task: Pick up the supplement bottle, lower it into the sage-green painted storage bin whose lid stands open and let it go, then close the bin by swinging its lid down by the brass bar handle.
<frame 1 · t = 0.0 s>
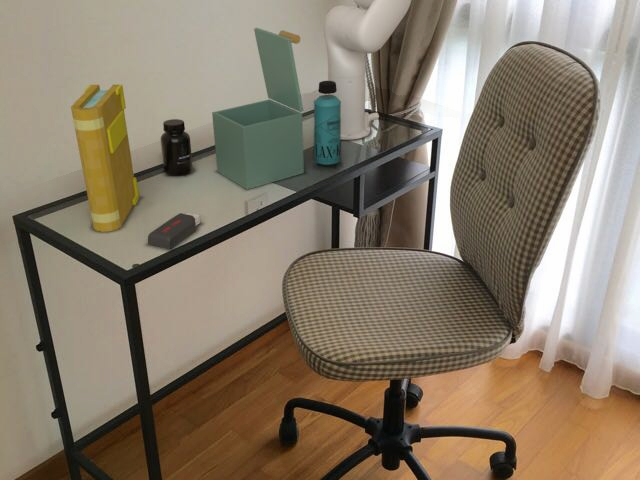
bin: (260, 172, 185), on the table
bin lid: (287, 66, 177), point 23 cm above the table, hinge at 80.0°
usb drive: (177, 235, 158), on the table
beverage bottle: (327, 166, 188), on the table
supplement bottle: (179, 172, 186), on the table
book: (114, 214, 167), on the table
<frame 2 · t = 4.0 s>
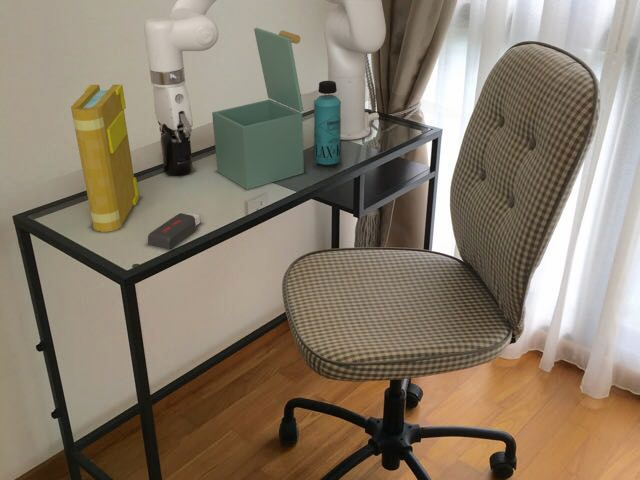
hand: (176, 152, 184), 5 cm above the table, tool pointing down, fingers closed on supplement bottle, 6 cm apart
supplement bottle: (179, 172, 186), on the table, touching gripper
everything else where it was.
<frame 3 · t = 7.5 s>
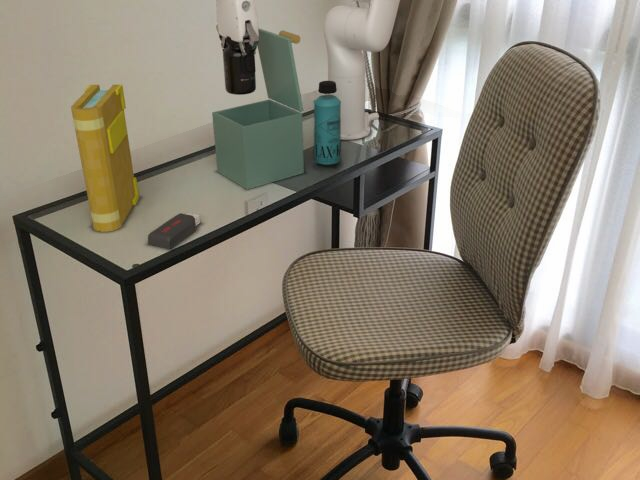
hand: (239, 69, 171), 24 cm above the table, tool pointing down, fingers closed on supplement bottle, 6 cm apart
supplement bottle: (241, 91, 174), point 19 cm above the table, touching gripper
everything else where it was.
when the fingers open (13 cm above the table, at t = 11.0 s): supplement bottle drops 7 cm, resting on bin.
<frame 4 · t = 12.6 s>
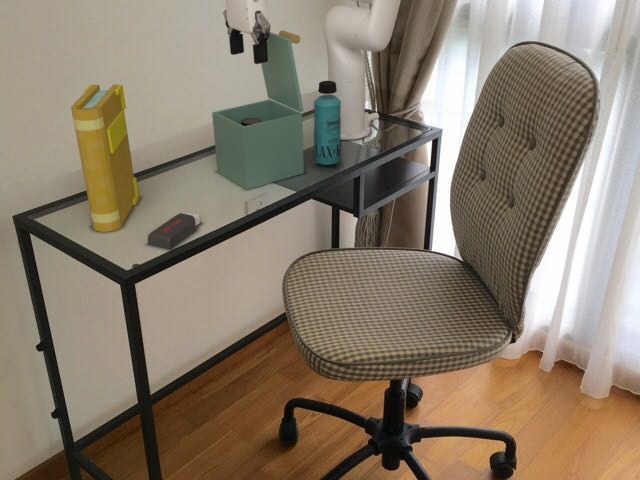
hand: (249, 58, 170), 27 cm above the table, tool pointing down, fingers open, 9 cm apart
supplement bottle: (254, 171, 184), point 1 cm above the table, touching bin
everything else where it was.
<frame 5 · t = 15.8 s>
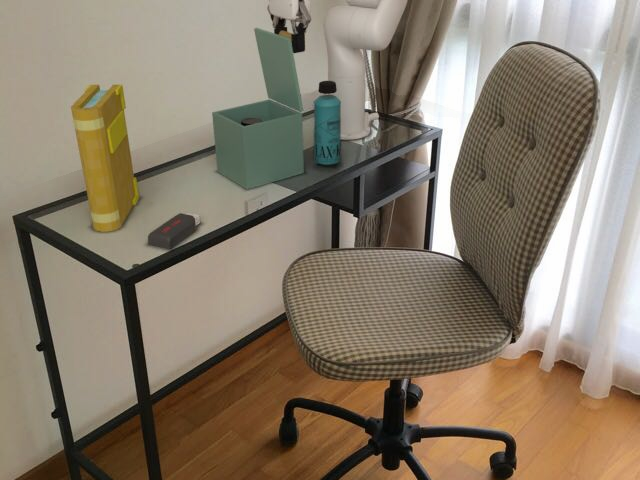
hand: (289, 48, 175), 27 cm above the table, tool pointing down, fingers closed on bin lid, 6 cm apart
bin lid: (287, 66, 177), point 23 cm above the table, hinge at 80.0°, touching gripper
everything else where it was.
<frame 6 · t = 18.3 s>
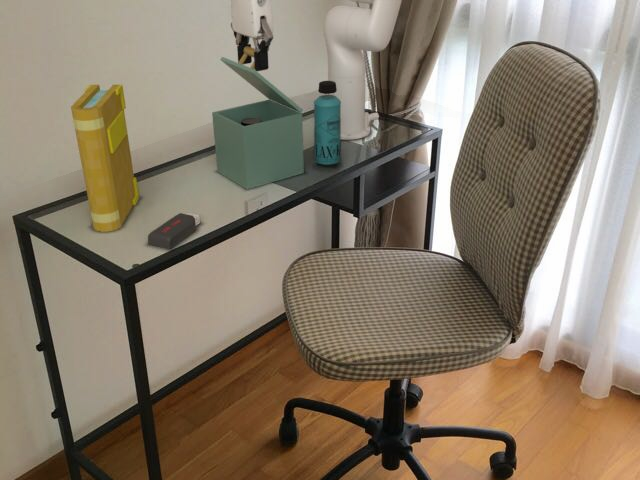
hand: (253, 66, 171), 25 cm above the table, tool pointing down, fingers closed on bin lid, 6 cm apart
bin lid: (267, 75, 175), point 22 cm above the table, hinge at 42.3°, touching gripper
everything else where it was.
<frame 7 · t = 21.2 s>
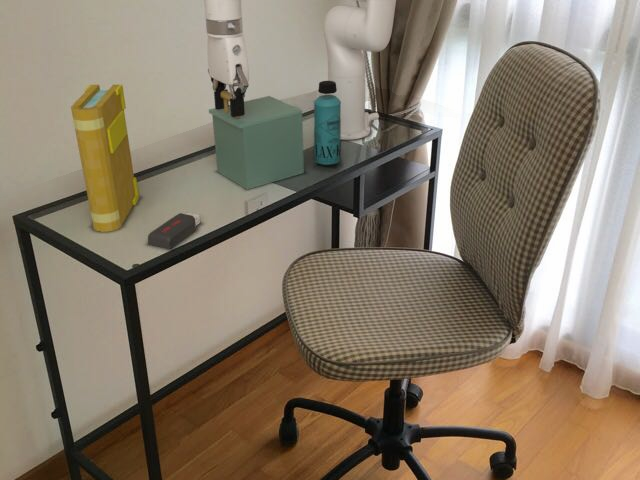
hand: (229, 111, 173), 16 cm above the table, tool pointing down, fingers closed on bin lid, 6 cm apart
bin lid: (254, 100, 176), point 17 cm above the table, hinge at -0.2°, touching bin, gripper
everything else where it was.
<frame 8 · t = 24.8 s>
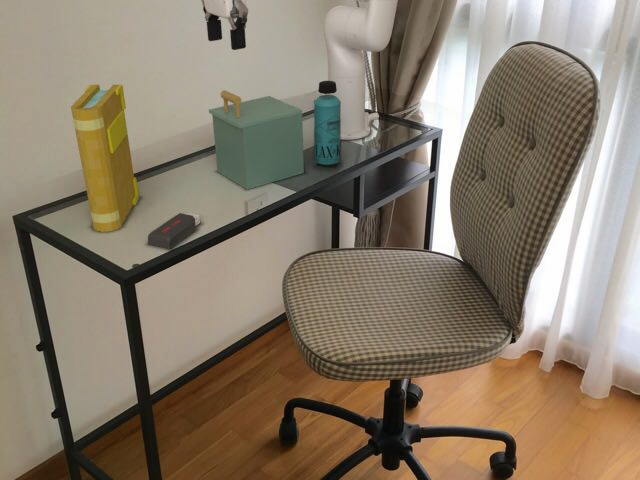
hand: (226, 44, 166), 30 cm above the table, tool pointing down, fingers open, 9 cm apart
bin lid: (254, 100, 176), point 17 cm above the table, hinge at -0.2°, touching bin
everything else where it was.
at the end: supplement bottle inside the target area in the bin (1.6 cm from its centre), point 0.6 cm above the bin's base; bin lid at +0° (first picture: +80°) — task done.
